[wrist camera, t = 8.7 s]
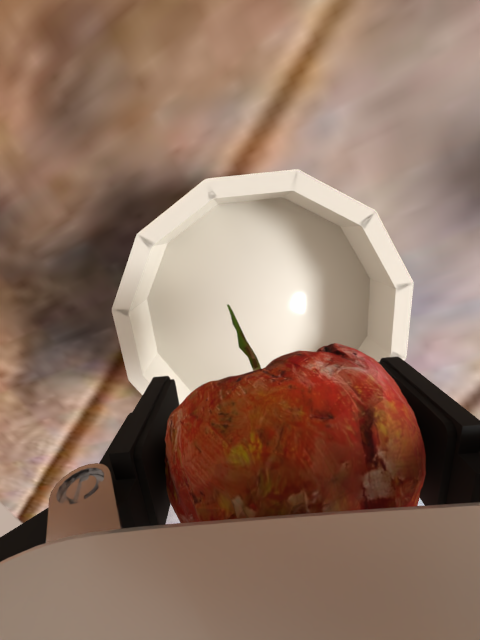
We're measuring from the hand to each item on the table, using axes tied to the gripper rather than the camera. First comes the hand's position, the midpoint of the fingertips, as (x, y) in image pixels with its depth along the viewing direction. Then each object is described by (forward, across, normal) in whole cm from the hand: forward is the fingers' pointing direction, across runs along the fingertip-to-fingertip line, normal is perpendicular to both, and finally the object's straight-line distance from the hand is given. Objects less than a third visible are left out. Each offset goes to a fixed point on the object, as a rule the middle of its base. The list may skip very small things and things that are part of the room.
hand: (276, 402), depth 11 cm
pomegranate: (+2, 0, 0) cm, 2 cm away
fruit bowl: (+12, 0, 0) cm, 12 cm away
